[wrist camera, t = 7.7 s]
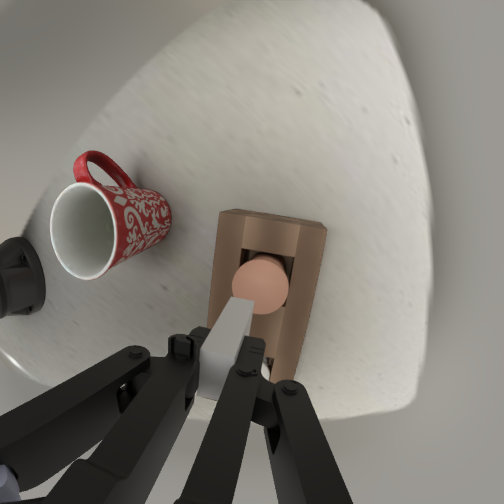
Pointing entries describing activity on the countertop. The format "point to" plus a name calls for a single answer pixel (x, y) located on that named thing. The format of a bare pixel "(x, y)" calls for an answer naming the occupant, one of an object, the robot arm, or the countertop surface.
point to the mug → (104, 219)
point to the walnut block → (297, 270)
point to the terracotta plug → (262, 282)
